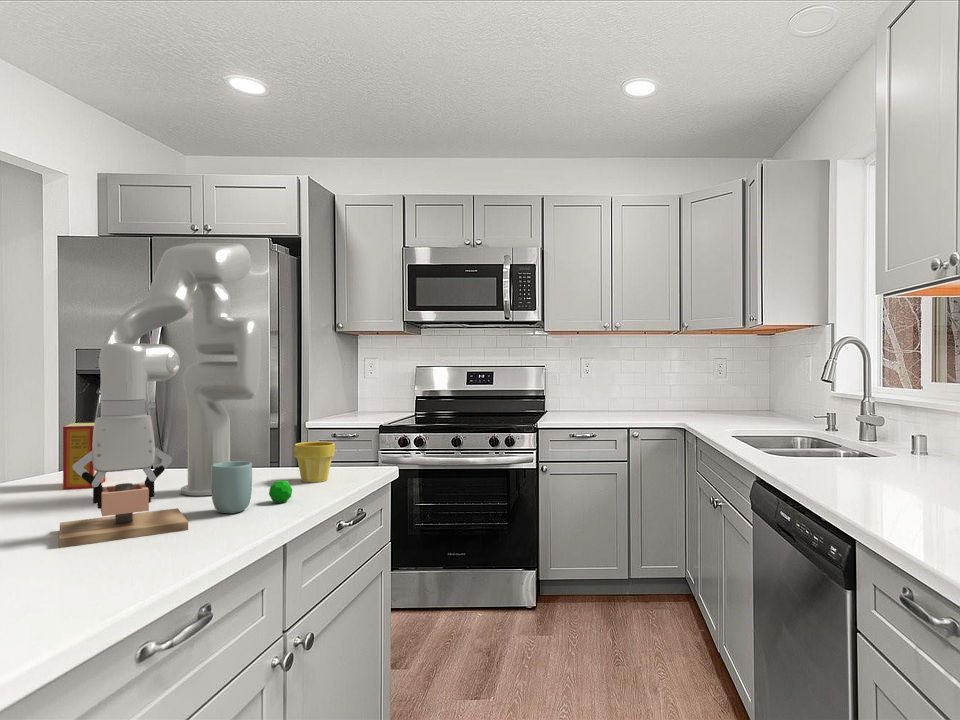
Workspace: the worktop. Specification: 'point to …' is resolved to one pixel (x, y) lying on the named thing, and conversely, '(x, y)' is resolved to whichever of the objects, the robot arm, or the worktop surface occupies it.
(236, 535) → the worktop surface
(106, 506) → the collar
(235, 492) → the cup
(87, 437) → the baking soda box
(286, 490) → the polyhedron
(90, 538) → the post board
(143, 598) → the worktop surface
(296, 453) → the plant pot
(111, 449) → the robot arm
